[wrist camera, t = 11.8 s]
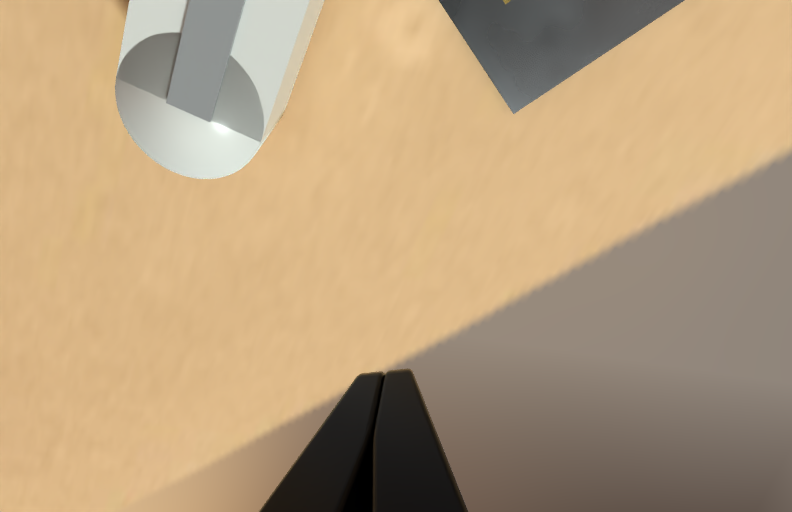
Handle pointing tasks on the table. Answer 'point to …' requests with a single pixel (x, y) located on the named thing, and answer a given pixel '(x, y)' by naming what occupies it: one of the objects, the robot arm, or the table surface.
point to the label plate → (545, 37)
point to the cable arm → (209, 77)
